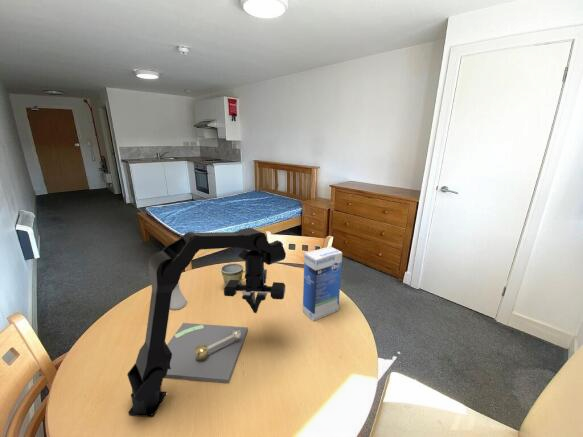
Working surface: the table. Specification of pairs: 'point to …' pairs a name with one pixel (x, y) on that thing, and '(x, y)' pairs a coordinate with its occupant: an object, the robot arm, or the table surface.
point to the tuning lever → (216, 345)
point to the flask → (177, 299)
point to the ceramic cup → (232, 272)
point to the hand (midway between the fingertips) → (255, 312)
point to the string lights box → (321, 282)
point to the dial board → (216, 363)
